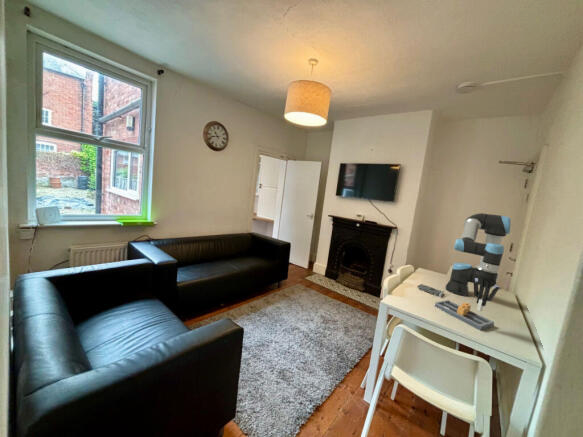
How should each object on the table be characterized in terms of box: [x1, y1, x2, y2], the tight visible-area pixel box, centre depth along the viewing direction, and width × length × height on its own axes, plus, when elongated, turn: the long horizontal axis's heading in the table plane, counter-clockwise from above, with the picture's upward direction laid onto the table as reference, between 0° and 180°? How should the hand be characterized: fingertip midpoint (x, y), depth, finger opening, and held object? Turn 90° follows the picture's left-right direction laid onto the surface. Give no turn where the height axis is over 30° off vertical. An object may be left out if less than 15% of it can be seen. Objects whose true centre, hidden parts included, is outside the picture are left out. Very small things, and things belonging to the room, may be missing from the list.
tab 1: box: [457, 305, 468, 316], centre depth 139 cm, size 4×3×5 cm
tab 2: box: [460, 302, 472, 312], centre depth 143 cm, size 4×3×5 cm
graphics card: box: [416, 283, 445, 298], centre depth 176 cm, size 17×4×12 cm
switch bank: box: [434, 299, 495, 331], centre depth 142 cm, size 14×26×3 cm, turn 25°
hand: (479, 310), depth 131 cm, fingers closed
